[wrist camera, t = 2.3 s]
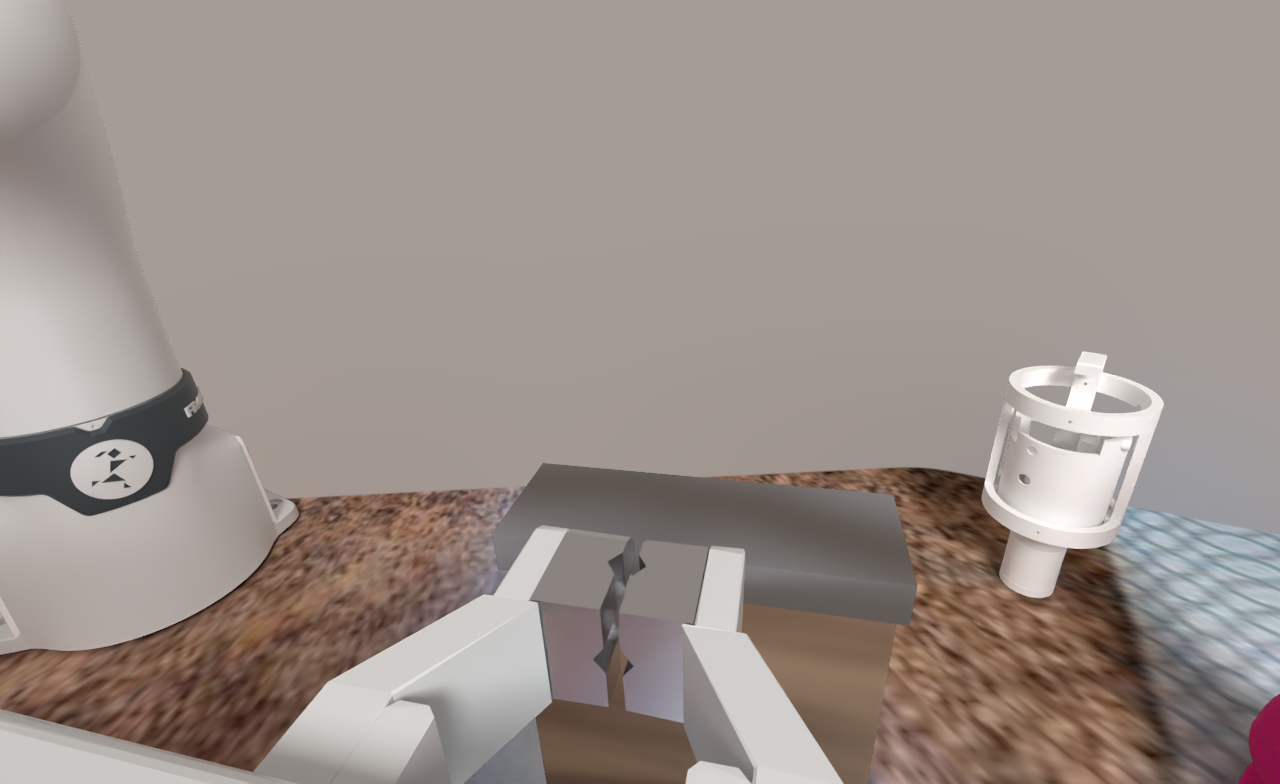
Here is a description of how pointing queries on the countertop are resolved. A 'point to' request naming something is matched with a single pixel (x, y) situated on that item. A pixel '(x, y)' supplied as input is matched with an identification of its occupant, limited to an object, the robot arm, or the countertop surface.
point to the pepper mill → (1265, 746)
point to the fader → (772, 607)
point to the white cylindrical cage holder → (1064, 468)
